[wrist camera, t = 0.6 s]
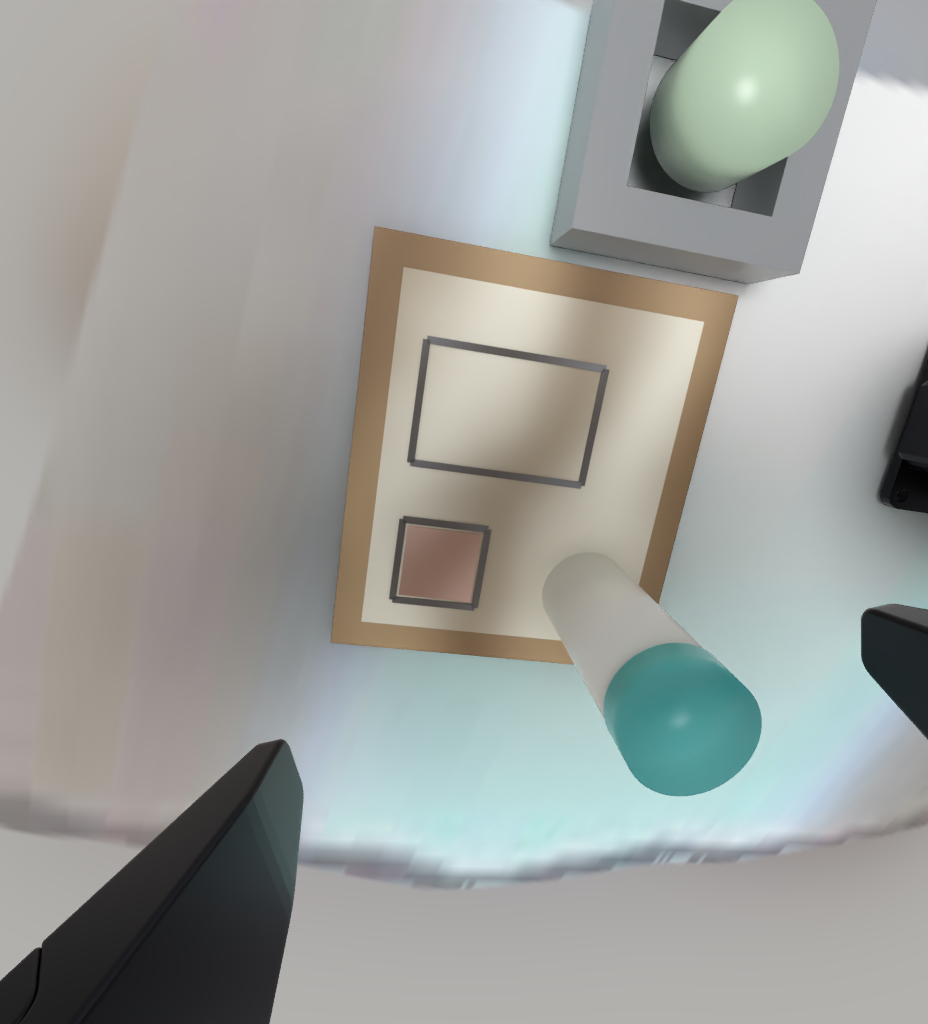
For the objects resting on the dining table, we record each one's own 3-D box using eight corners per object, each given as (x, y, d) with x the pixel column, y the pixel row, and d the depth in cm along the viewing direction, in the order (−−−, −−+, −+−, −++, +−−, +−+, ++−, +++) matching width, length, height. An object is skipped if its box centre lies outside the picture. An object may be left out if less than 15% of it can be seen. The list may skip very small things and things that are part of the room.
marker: (636, 556, 21) (779, 679, 13) (616, 637, 22) (739, 799, 14) (550, 546, 20) (643, 667, 12) (533, 629, 21) (610, 792, 13)
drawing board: (731, 297, 19) (741, 295, 18) (636, 665, 22) (642, 672, 22) (375, 229, 17) (374, 224, 17) (332, 637, 21) (330, 644, 20)
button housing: (813, 42, 17) (879, -9, 15) (749, 283, 19) (799, 273, 17) (596, -15, 16) (628, -79, 14) (549, 245, 18) (572, 227, 16)
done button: (789, 60, 16) (859, 6, 13) (752, 203, 16) (812, 177, 14) (667, 29, 15) (717, -33, 13) (636, 178, 16) (677, 146, 14)
